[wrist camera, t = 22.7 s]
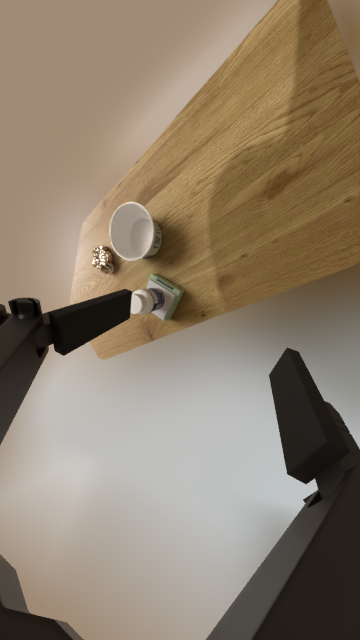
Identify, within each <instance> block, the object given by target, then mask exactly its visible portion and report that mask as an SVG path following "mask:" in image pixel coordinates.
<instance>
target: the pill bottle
mask: <svg viewBox="0 0 360 640" xmlns="http://www.w3.org/2000/svg"><path fill="white" fill-rule="evenodd" d="M165 303H166V296H165V293H164V292H163V291H162V290H161V289H159V288H149V289H140V290H137V291H135V292H134V293H133V294H132V299H131V311H130V312H131V313H133V314H137V313H139V314H148V313H150V312H153V311H155V310H158V309H160V308H162V307H163V306H164V305H165Z"/></svg>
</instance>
